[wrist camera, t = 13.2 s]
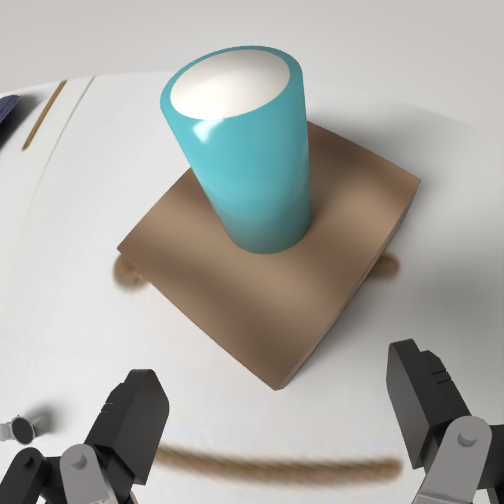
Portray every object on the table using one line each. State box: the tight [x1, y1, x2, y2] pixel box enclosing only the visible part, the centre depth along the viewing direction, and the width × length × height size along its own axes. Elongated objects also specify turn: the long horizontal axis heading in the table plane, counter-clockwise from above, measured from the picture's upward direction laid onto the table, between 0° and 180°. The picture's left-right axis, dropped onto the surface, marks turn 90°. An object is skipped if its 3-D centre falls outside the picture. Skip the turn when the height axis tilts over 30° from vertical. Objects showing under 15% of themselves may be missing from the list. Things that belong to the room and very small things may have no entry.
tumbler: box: [160, 46, 312, 254], centre depth 15 cm, size 6×6×10 cm
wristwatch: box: [0, 415, 36, 445], centre depth 19 cm, size 3×5×5 cm, turn 110°
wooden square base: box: [117, 121, 421, 391], centre depth 22 cm, size 16×14×5 cm
